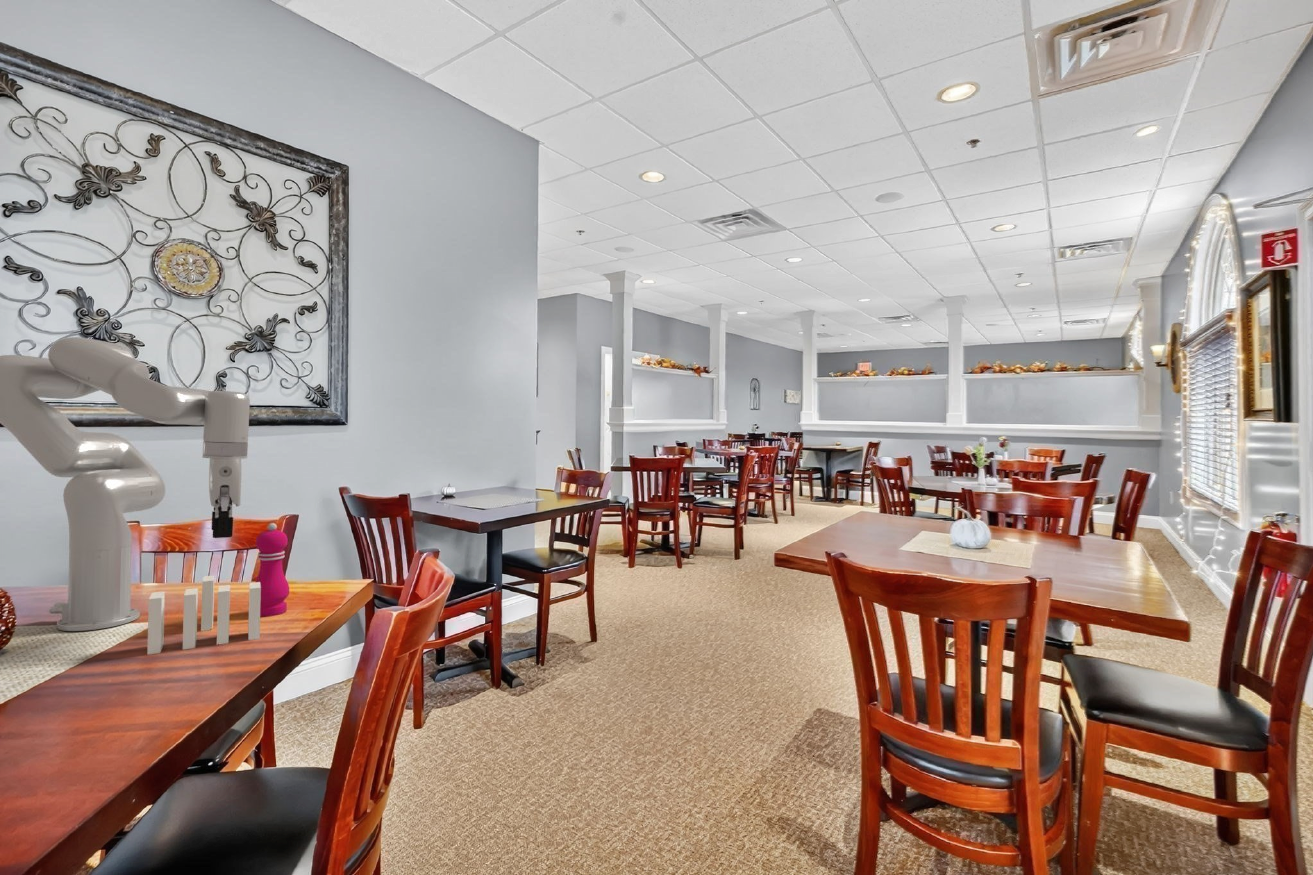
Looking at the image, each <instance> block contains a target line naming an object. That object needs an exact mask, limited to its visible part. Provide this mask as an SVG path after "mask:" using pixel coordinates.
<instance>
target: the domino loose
mask: <svg viewBox="0 0 1313 875" xmlns="http://www.w3.org/2000/svg"><path fill="white" fill-rule="evenodd" d="M201 583H202V585H201V586H202V587H201V617H200V619H201V620H200V624H201V625H200V632H206V631H211V630H210V629H212V630H213V626H214V605H215V604H214V603H215V601H214V600H215V597H214V596H215V575H204V576H203V577H202V581H201Z"/></svg>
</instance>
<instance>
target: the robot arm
mask: <svg viewBox="0 0 1313 875" xmlns="http://www.w3.org/2000/svg"><path fill="white" fill-rule="evenodd" d="M99 391H101V392H102V393H103V392H104V393H106V394H109V395H110V396H111V397H112V398H113V400H114V401H115V403H116V404H117V405H118V406H119V407H121V408H122V409H124V410H125V411H128V412H130V413H132V414H135V415H137V416H139V417H141V418H143V419H147V420H149V421H152V422H154V423H158V424H164V425H186V426H187V425H189V426H203V440H202V441H203V442H202V459H209V467H208V468H209V469H208V470H209V471H208V473H209V474H208V475H209V476H208V488H209V490H208V491H209V500H210V505H211V507H213V511H211V530H212V538H214V539H223V538H232V537H233V528H234V517H233V505H235V507H240V506H241V494H242V492H241V491H242V490H241V489H242V460H245V459H248V448H249V447H248V446H249V427H250V426H249V425H250V407H251V406H250V404H251V403H250V402H251V401H250V400H251V399H250V397H249V395H247V394H246V393H244V392H240V391H230V390H229V391H227V390H206V389H197V388H192V387H191V388H190V387H181V386H170V385H165V384H163V383H160V382H158V381H155V380H153V379H150V371H149V368H148V367H147V366H146V364H145V363H144V362H141V361H140V360H139V359H136V357H135V355H134V354H133V353H132V352H131V351H130V349H128V348H127V347H125V346H123V345H121V344H118V343H114V342H111V341H109V342H108V341H103V340H100V339H99V340H97V339H92V338H86V337H78V336H77V337H76V336H75V337H74V336H73V337H66V338H62V339H59V340H58V341H55V342H54V343H53V344H52V345H51V346H50V347H49V349H48V353H47V358H46V357H45V358H44V357H39V356H30V355H23V354H6V355H5V354H3V355H0V424H1V425H2V426H3V427H4V428H5V429H6V430H8V432H10V433H11V435H13V436H14V437H15V438H16V439H17V441H18V442H19V444H21V445H22V447H23V448H25V449H26V451H27V452H28V453H29V454H30V456H32V457H33V458H34V459H35V460H36V461H37V463H38V464H40V466H41V467H42V468H43V469H44V470H45V471H47V472H48V473H49V474H51V475H52V476H55V477H57V478H58V477H59V478H71V479H70V480H69V481H68V482H67V484H66V485H65V487H64V488H63V493H62V494H63V495H62V496H63V503H64V507H65V508H64V509H65V511H66V516H67V521H68V533H69V537H68V538H69V540H68V543H69V546H68V588H67V589H68V590H67V591H68V592H67V594H68V595H67V597H68V598H67V601H57V602H55V603H54V605H53V606H52V607H50V609H49V613H50V614H61V619H59V620H57V621H56V629H58V630H60V631H63V632H64V631H66V632H85V631H92V630H95V631H96V630H100V629H108V628H112V627H118V626H120V625H125V624H128V623H131V622H133V621H135V620H137V619H139V617H140V614H141V613H140V611H141V610H139V609H136V608H131V594H132V593H131V592H132V589H131V588H132V586H131V585H132V553H133V552H132V551H133V550H132V549H133V542H132V541H133V540H132V530H131V527H130V525H129V524H128V522H127V520H126V519H125V517H124V514H126V513H133V512H142V511H145V510H149V509H152V508H155V507H157V506H158V505H159V504H160V503H161V502H162V501H163V499H164V497H165V494H166V485H165V481H164V480H163V478H162V476H161V475H160V474H159V472H158V471H157V470H156V469H155V468H154V467H153V465H151V463H150V462H149V461H148V460H147V459H146V458H145V457H144V456H143V455H142V454H141V452H139V451H138V450H137V448H136V446H134V445H133V444H132V443H131V442H130V441H128V440H127V439H125V438H124V437H122V436H120V435H118V434H114V433H111V432H110V433H109V432H93V431H92V432H88V431H84V430H81V429H79V428H78V427H76V426H75V425H74V424H73V423H72V422H71V421H70V420H69V419H68V418H67V416H66V415H65V414H63V413H62V412H61V411H60V410H59V409H58V408H55V407H54V406H52V405H51V404H49V403H47V402H46V401H44V400H42V399H44V398H45V399H57V400H58V399H59V400H70V399H71V400H72V399H77V398H82V397H85V396H88V395H90V394H93V393H95V392H99ZM40 398H42V399H40Z"/></svg>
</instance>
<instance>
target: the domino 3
mask: <svg viewBox="0 0 1313 875" xmlns="http://www.w3.org/2000/svg"><path fill="white" fill-rule="evenodd" d="M230 600H231V585H230V584H226V585H218V590H217V616H216V617H217V618H216V619H217V621H216V622H217V623H216V624H217V625H216V646H218V644H219V645H225V644H229V637H230V609H231V608H230V606H231V605H230V604H231V602H230Z"/></svg>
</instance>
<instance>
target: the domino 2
mask: <svg viewBox="0 0 1313 875" xmlns="http://www.w3.org/2000/svg"><path fill="white" fill-rule="evenodd" d="M198 593H199V588H198V587H196V588H186V589H185V591H184V594H183V617H182V618H183V619H182V622H183V626H182V628H183V629H182V651H183V650H191V649H195V648H196V645H197V640H198V639H197V637H198V607H199V606H198V603H199V601H198V598H199V597H198V596H199V594H198Z"/></svg>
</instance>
